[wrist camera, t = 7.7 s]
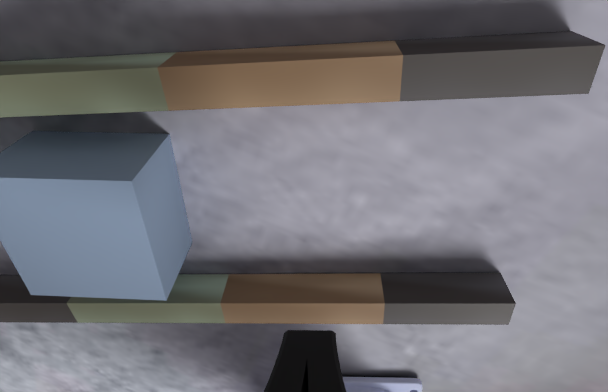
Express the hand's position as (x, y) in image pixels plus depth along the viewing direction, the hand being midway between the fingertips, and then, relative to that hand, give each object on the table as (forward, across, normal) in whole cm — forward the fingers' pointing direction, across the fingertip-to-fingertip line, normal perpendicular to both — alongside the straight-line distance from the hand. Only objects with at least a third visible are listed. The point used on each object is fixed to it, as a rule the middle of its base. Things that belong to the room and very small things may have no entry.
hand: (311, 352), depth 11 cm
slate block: (+8, +9, 0) cm, 12 cm away
